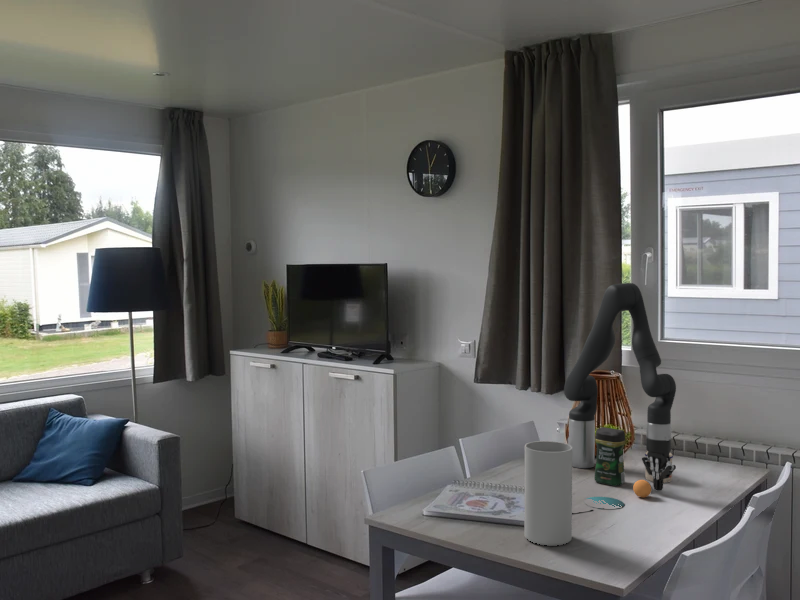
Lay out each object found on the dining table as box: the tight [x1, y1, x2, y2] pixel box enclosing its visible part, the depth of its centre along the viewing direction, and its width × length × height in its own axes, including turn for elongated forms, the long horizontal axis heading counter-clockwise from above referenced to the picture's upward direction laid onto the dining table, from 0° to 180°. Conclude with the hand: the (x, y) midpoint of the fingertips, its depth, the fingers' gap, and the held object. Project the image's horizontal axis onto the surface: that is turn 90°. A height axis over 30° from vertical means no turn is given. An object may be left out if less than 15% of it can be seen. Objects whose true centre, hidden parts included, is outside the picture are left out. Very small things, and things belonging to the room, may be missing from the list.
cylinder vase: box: [523, 440, 573, 547], centre depth 198 cm, size 12×12×25 cm
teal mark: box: [586, 496, 625, 507], centre depth 228 cm, size 12×12×1 cm
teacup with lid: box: [644, 450, 674, 484], centre depth 255 cm, size 12×9×12 cm
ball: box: [632, 479, 652, 499], centre depth 234 cm, size 6×6×6 cm
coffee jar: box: [594, 426, 626, 487], centre depth 250 cm, size 10×8×19 cm
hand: (658, 490), depth 237 cm, fingers closed
